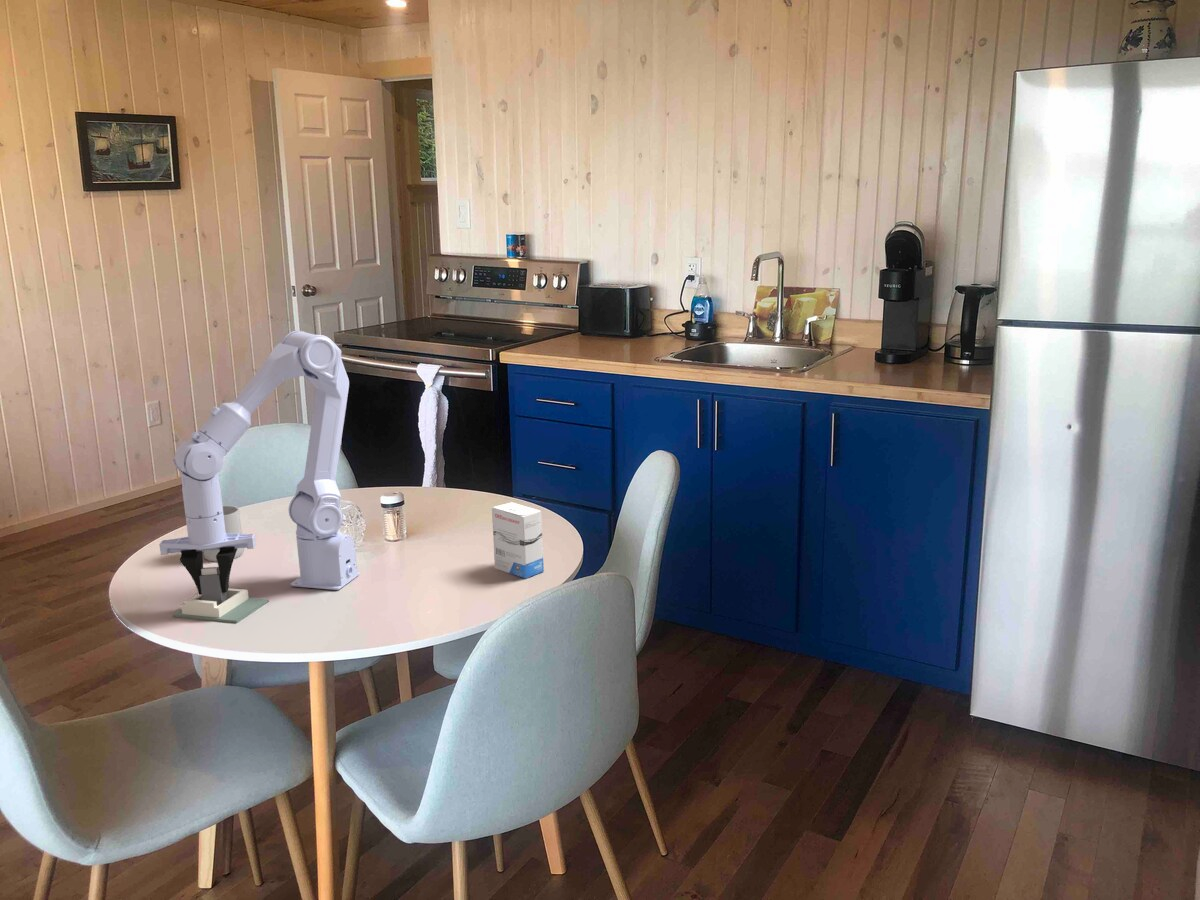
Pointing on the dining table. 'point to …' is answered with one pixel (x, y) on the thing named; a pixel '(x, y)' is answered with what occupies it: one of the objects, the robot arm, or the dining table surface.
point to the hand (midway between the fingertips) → (214, 591)
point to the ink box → (518, 539)
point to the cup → (228, 530)
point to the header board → (221, 607)
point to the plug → (212, 585)
